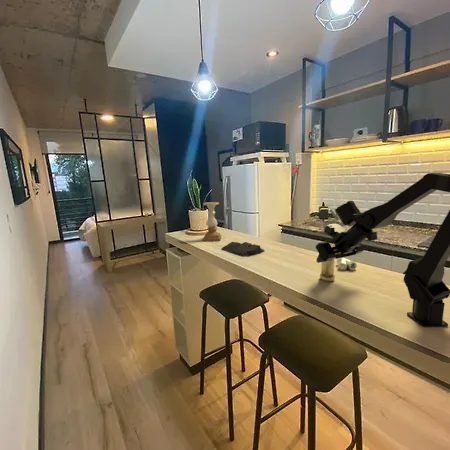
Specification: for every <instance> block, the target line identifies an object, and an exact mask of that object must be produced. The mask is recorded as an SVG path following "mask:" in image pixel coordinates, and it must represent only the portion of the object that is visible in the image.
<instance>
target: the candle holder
mask: <svg viewBox="0 0 450 450" xmlns="http://www.w3.org/2000/svg"><path fill="white" fill-rule="evenodd" d="M219 204H220V202H219V201H210V202H209V201H208V202H203V206H206V207H207V209H208V211H207V214H208V219H207V220H206V226H207V232H205V234H204V236H203V239H202V241H203V242H220V241H221V240H222V234H221V233H220V232H218V231H217V230H218V228H217V226H218V224H219V223H218V221H217V219H216V218H215V214H216V211H215V208H216V206H217V205H219Z"/></svg>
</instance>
